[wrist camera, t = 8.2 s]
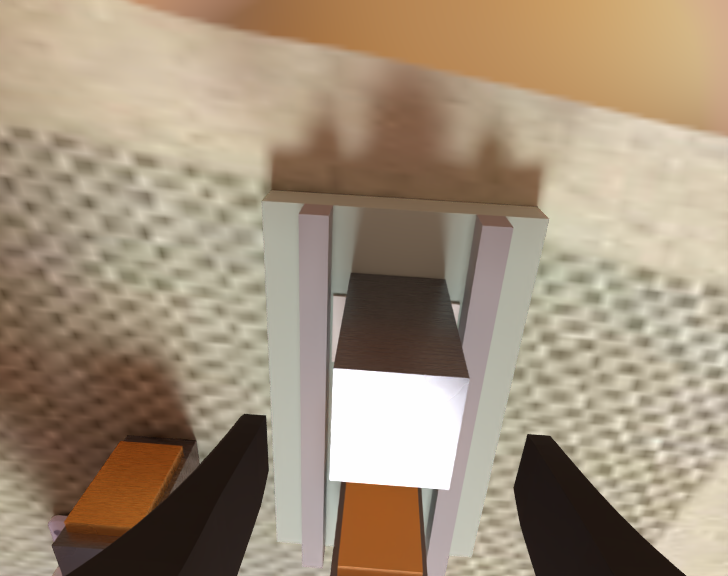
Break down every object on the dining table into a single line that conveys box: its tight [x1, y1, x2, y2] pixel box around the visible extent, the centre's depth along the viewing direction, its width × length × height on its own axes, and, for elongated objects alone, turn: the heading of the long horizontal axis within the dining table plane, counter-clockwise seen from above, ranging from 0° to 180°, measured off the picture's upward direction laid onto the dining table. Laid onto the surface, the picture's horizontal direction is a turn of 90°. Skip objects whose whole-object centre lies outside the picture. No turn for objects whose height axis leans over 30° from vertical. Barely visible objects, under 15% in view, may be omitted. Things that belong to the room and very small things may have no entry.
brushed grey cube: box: [330, 273, 470, 490], centre depth 16 cm, size 5×4×6 cm
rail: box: [262, 190, 549, 576], centre depth 19 cm, size 18×10×8 cm, turn 177°
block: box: [52, 436, 200, 576], centre depth 22 cm, size 5×4×6 cm
